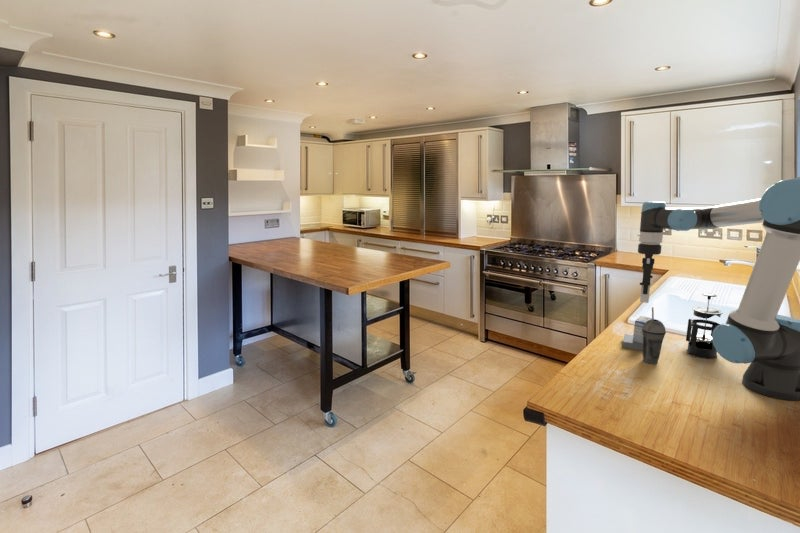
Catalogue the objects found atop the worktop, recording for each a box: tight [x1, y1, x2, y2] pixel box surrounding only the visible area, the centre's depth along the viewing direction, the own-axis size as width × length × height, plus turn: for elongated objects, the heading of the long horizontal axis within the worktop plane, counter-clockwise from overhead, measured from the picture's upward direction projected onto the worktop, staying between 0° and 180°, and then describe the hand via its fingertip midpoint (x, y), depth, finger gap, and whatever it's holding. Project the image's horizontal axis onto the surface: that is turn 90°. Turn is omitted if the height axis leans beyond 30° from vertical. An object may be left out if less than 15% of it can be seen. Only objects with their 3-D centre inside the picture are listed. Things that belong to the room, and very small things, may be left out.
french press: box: [685, 292, 724, 360], centre depth 159 cm, size 12×9×23 cm
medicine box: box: [632, 315, 652, 344], centre depth 166 cm, size 8×4×9 cm, turn 138°
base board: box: [622, 333, 643, 352], centre depth 168 cm, size 10×11×3 cm
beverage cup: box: [642, 307, 667, 365], centre depth 152 cm, size 7×7×20 cm
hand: (644, 298), depth 164 cm, fingers open, 13 cm apart
